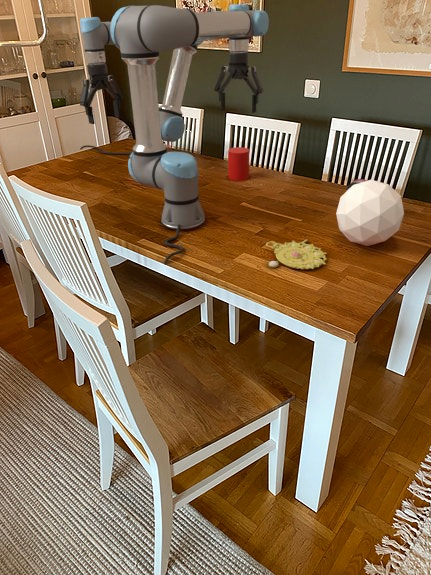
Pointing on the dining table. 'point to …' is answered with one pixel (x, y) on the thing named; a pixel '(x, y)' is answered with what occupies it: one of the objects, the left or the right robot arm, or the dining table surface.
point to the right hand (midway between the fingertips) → (238, 111)
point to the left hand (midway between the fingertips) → (105, 120)
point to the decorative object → (297, 255)
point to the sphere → (369, 212)
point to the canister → (238, 164)
